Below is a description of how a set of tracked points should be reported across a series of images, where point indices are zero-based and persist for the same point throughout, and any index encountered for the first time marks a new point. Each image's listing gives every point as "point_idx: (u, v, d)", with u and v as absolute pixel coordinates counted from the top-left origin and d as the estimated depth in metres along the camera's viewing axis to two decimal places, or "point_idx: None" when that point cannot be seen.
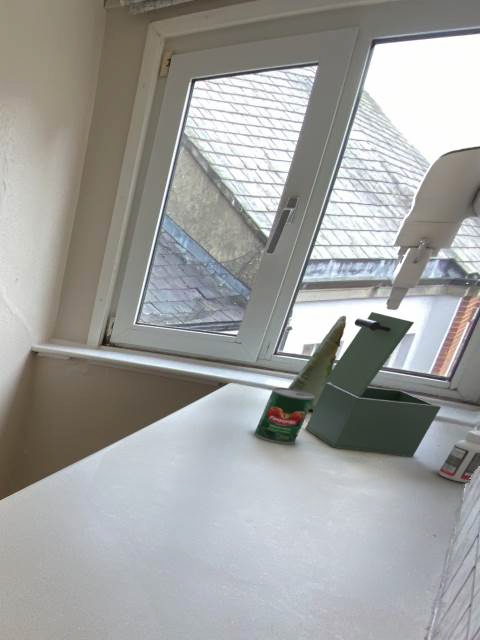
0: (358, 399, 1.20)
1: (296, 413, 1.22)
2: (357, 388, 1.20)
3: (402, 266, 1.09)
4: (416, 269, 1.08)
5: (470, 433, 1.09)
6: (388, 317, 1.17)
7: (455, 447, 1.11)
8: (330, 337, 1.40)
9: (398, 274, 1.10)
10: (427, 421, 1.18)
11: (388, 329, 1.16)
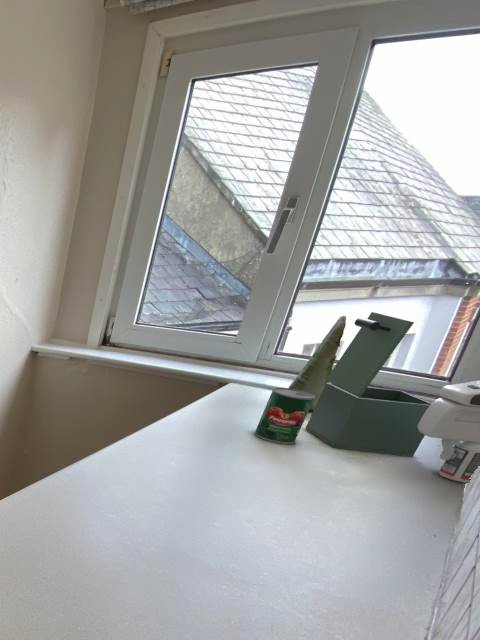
0: (358, 399, 1.20)
1: (296, 413, 1.22)
2: (357, 388, 1.20)
3: None
4: None
5: None
6: (388, 317, 1.17)
7: (455, 447, 1.11)
8: (330, 337, 1.40)
9: None
10: None
11: (388, 329, 1.16)
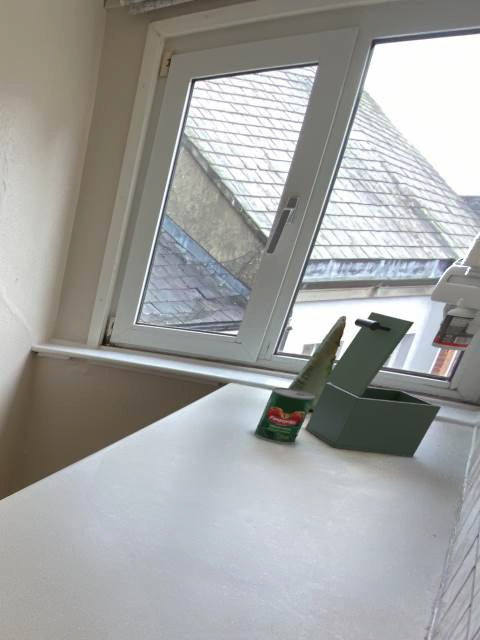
0: (358, 399, 1.20)
1: (296, 413, 1.22)
2: (357, 388, 1.20)
3: None
4: None
5: None
6: (388, 317, 1.17)
7: (470, 319, 1.09)
8: (330, 337, 1.40)
9: None
10: (427, 421, 1.18)
11: (388, 329, 1.16)
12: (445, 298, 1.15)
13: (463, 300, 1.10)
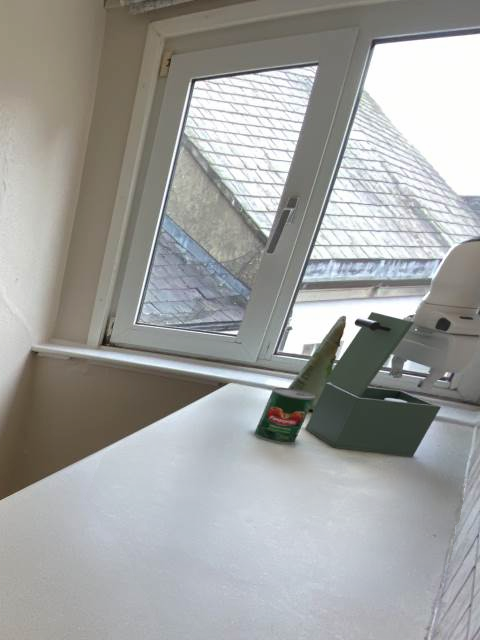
0: (358, 399, 1.20)
1: (296, 413, 1.22)
2: (357, 388, 1.20)
3: None
4: None
5: None
6: (388, 317, 1.17)
7: None
8: (330, 337, 1.40)
9: None
10: (427, 421, 1.18)
11: (388, 329, 1.16)
12: (396, 351, 1.24)
13: None
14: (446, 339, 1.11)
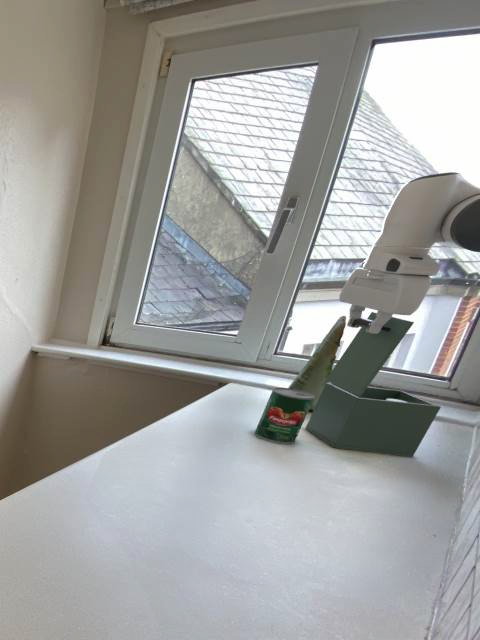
0: (358, 399, 1.20)
1: (296, 413, 1.22)
2: (357, 388, 1.20)
3: None
4: None
5: None
6: None
7: None
8: (330, 337, 1.40)
9: None
10: (427, 421, 1.18)
11: (388, 329, 1.16)
12: (350, 299, 1.21)
13: None
14: (396, 280, 1.09)
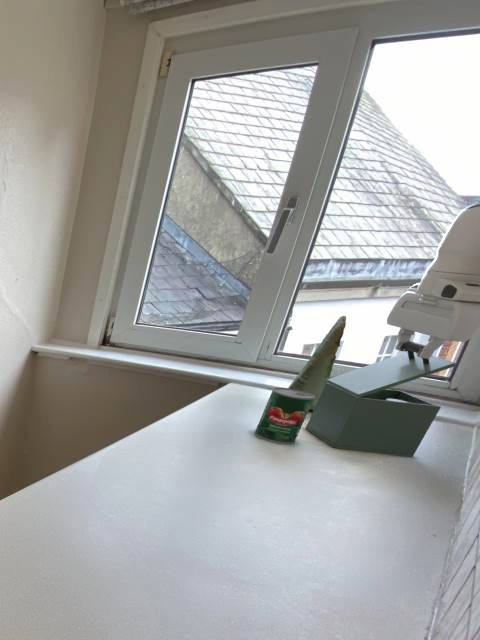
0: (358, 399, 1.20)
1: (296, 413, 1.22)
2: (362, 390, 1.20)
3: None
4: None
5: None
6: (431, 356, 1.19)
7: None
8: (330, 337, 1.40)
9: None
10: (427, 421, 1.18)
11: (427, 362, 1.17)
12: (400, 323, 1.21)
13: None
14: (452, 307, 1.08)
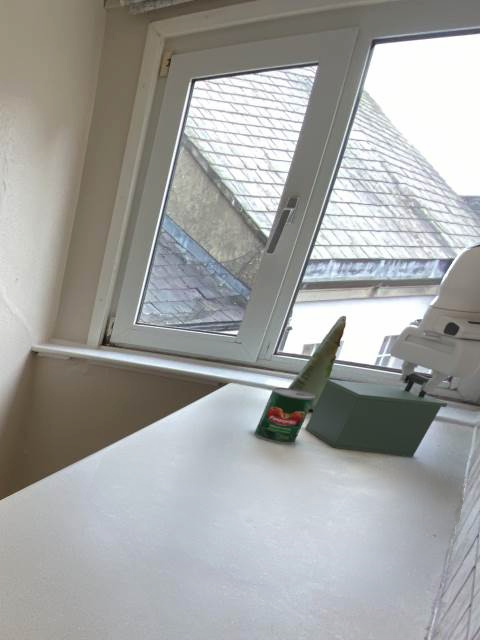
0: (358, 399, 1.20)
1: (296, 413, 1.22)
2: (363, 393, 1.20)
3: None
4: None
5: None
6: (424, 394, 1.22)
7: None
8: (330, 337, 1.40)
9: None
10: (427, 421, 1.18)
11: (422, 395, 1.20)
12: (403, 356, 1.24)
13: None
14: (454, 344, 1.11)
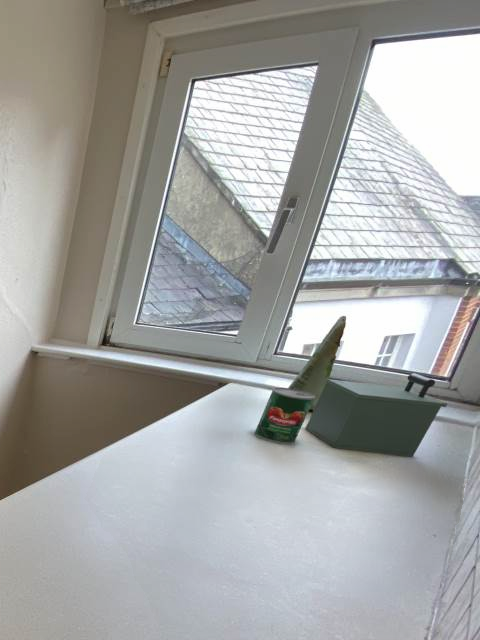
0: (358, 399, 1.20)
1: (296, 413, 1.22)
2: (363, 393, 1.20)
3: None
4: None
5: None
6: (424, 394, 1.22)
7: None
8: (330, 337, 1.40)
9: None
10: (427, 421, 1.18)
11: (422, 395, 1.20)
12: None
13: None
14: None
